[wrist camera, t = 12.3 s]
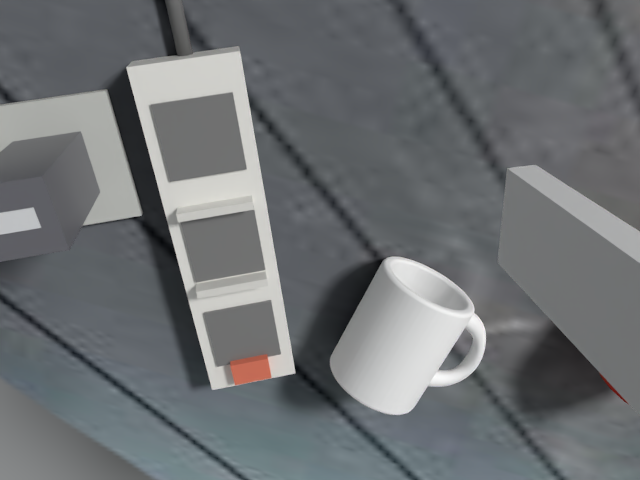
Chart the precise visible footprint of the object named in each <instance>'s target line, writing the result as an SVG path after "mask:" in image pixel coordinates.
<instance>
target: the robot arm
mask: <svg viewBox="0 0 640 480" xmlns="http://www.w3.org/2000/svg"><path fill="white" fill-rule="evenodd" d="M498 263H499V265H500V266H501V267H502V268H503V269H504V270H505V271H506V272H507V273H508V274H509V275H510V276H511V277H512V279H513V280H514V281H515V282H516V283H517V284H518V285H519V286H520V287H521V288H522V289H523V290H524V292H525V293H526V294H527V295H528V296H529V297H530V298H531V299H532V300H533V301H534V302H535V303H536V304H537V306H538V307H539V308H540V309H541V310H542V311H543V312H544V313H545V314H546V315H547V316H548V317H549V318H550V320H551V321H552V322H553V323H554V324H555V325H556V326H557V327H558V328H559V329H560V330H561V331H562V333H563V334H564V335H565V336H566V337H567V338H568V339H569V340H570V341H571V342H572V343H573V344H574V345H575V347H576V348H577V349H578V350H579V351H580V352H581V353H582V354H583V355H584V356H585V357H586V358H587V359H588V361H589V362H590V363H591V364H592V365H593V366H594V367H595V368H596V369H597V370H598V371H599V372H600V374H601V375H602V376H603V377H604V378H605V379H606V380H607V381H608V382H609V383H610V384H611V385H612V386H613V388H614V389H615V390H616V391H617V392H618V393H619V394H620V395H621V396H622V397H623V398H624V399H625V400H626V402H627V403H628V404H629V405H630V406H631V407H632V408H633V409H634V410H635V411H636V412H637V413H638V415H639V416H640V232H639V231H638V230H636V229H635V228H633V227H632V226H630V225H629V224H627V223H625V222H624V221H622V220H621V219H619V218H618V217H616V216H614V215H613V214H611V213H610V212H608V211H607V210H605V209H604V208H602V207H600V206H599V205H597V204H596V203H594V202H593V201H591V200H590V199H588V198H586V197H585V196H583V195H582V194H580V193H579V192H577V191H575V190H574V189H572V188H571V187H569V186H568V185H566V184H565V183H563V182H561V181H560V180H558V179H557V178H555V177H554V176H552V175H550V174H549V173H547V172H546V171H544V170H543V169H541V168H540V167H538V166H536V165H531V166H522V167H514V168H507V175H506V185H505V195H504V205H503V215H502V225H501V234H500V244H499V254H498Z"/></svg>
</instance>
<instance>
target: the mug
mask: <svg viewBox="0 0 640 480" xmlns="http://www.w3.org/2000/svg"><path fill="white" fill-rule="evenodd" d="M464 329H466V330H467V331H469V332H470V333H471V335H472V337H473V343H472V345H471V348H470V350H469V352H468V354H467V355H466V357H465V358H464V360H463V361H462V362H461V363H460V364H459V365H458V366H457V367H455V368H453V369H450V370H438V369H439V368H440V366H441V364H442V363H443V361H444V360H445V358H446V357H447V355H448V354H449V352H450V350H451V349H452V347H453V346H454V344H455V343H456V341H457V339H458V338H459V336H460V335H461V333H462V332H463V330H464ZM485 344H486V332H485V328H484V325H483V323H482V321H481V320H480V318H479V317H478V316H477V315H476V314H475V313H474V305H473V303H472V301H471V300H470V298H469V297H468V296H467V295H466V293H465V292H464V291H463V290H462V289H461V288H459V287H458V286H457V285H456V284H455V283H453V282H452V281H451V280H449V279H448V278H446V277H445V276H443V275H442V274H440V273H438V272H437V271H435V270H433V269H431V268H429V267H427V266H425V265H423V264H421V263H419V262H416V261H413V260H410V259H407V258H403V257H388V258H386V259H384V260H383V261H382V263H381V265H380V267H379V269H378V271H377V272H376V274H375V276H374V278H373V280H372V281H371V283H370V285H369V287H368V289H367V291H366V292H365V294H364V296H363V298H362V300H361V302H360V303H359V305H358V307H357V309H356V311H355V313H354V314H353V316H352V318H351V320H350V322H349V324H348V325H347V327H346V329H345V331H344V333H343V334H342V336H341V338H340V340H339V342H338V344H337V345H336V347H335V349H334V351H333V353H332V355H331V357H330V368H331V371H332V373H333V375H334V377H335V379H336V380H337V382H338V383H339V384H340V386H341V387H342V388H343V389H344V390H345V391H346V392H347V393H348V394H349V395H350V396H352V397H353V398H354V399H356V400H357V401H359V402H360V403H362V404H363V405H365V406H367V407H369V408H371V409H373V410H376V411H378V412H381V413H385V414H391V415H402V414H406V413H408V412H410V411H411V410H412V409H413V408H414V407H415V405H416V404H417V402H418V400H419V399H420V397H421V396H422V394H423V393H424V391H425V389H426V388H427V386H430V387H443V386H448V385H452V384H455V383H457V382H460V381H461V380H463V379H465V378H466V377H468V376H469V375H470V374H471V373H472V372H473V371H474V370H475V369H476V368H477V366H478V365H479V363H480V361H481V359H482V357H483V354H484V350H485Z"/></svg>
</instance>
